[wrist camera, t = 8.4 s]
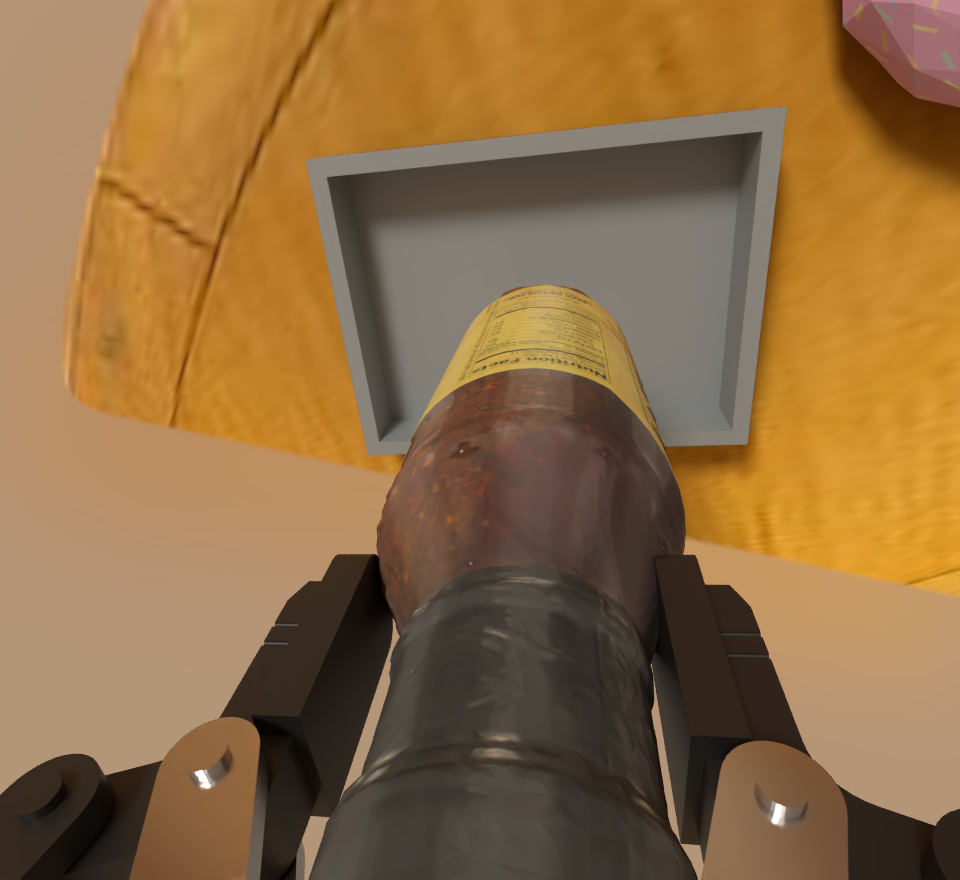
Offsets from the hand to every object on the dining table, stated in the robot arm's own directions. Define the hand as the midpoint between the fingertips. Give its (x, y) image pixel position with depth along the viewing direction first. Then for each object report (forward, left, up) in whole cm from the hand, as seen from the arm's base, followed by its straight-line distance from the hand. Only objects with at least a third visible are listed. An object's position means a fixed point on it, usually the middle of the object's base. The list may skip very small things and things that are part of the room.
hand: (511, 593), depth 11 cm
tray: (0, 0, -23) cm, 23 cm away
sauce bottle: (0, 0, -14) cm, 14 cm away
